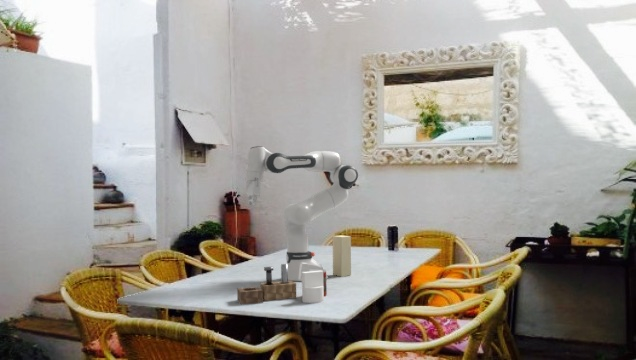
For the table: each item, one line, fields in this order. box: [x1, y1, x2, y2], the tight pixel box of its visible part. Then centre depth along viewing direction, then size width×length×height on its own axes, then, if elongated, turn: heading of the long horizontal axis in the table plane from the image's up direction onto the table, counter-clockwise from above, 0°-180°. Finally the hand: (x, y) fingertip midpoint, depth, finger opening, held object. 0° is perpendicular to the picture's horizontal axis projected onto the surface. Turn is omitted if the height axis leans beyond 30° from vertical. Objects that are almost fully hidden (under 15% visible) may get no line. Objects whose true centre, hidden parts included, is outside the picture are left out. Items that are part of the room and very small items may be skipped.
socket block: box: [259, 280, 297, 301], centre depth 227 cm, size 14×8×6 cm, turn 108°
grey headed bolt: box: [263, 266, 274, 285], centre depth 226 cm, size 4×4×8 cm
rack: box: [236, 286, 264, 305], centre depth 220 cm, size 9×9×5 cm
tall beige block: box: [332, 234, 352, 277], centre depth 282 cm, size 8×7×21 cm
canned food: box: [309, 268, 328, 297], centre depth 230 cm, size 8×8×11 cm
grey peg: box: [280, 263, 289, 284], centre depth 228 cm, size 3×3×14 cm
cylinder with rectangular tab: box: [301, 270, 325, 304], centre depth 220 cm, size 9×9×12 cm
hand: (251, 205), depth 265 cm, fingers open, 8 cm apart
